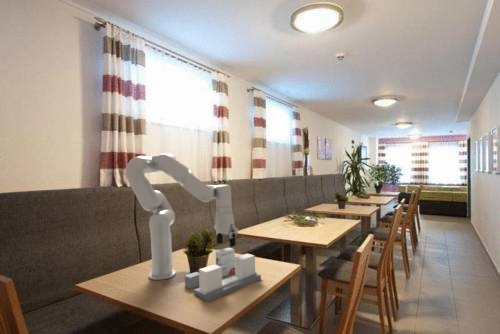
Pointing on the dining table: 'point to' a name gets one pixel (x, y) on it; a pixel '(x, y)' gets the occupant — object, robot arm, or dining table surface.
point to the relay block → (192, 280)
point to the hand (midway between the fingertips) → (226, 244)
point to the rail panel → (217, 287)
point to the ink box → (226, 260)
